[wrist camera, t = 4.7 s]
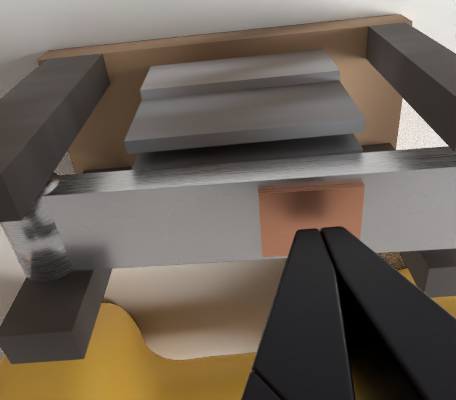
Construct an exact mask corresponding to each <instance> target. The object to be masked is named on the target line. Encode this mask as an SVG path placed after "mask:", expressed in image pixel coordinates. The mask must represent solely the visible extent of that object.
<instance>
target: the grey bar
mask: <svg viewBox="0 0 456 400" xmlns="http://www.w3.org/2000/svg"><path fill="white" fill-rule="evenodd" d="M0 224H1V226H2V228H3V230H4V232H5V234H6V236H7V238H8V240H9V243H10V245H11V247H12V249H13V251H14V253H15V255H16V257H17V259H18V261H19V263H20V265H21V267H22V269H23V271H24V273H25V275H26V276H27V277H28V278H29V279H31V280H34V281H40V282H44V281H51V280H55V279H58V278H61V277H64V276H66V275H68V274H69V273H71V272H73V271H75V270H92V269H109V268H126V267H144V266H161V265H178V264H195V263H213V262H230V261H247V260H264V259H282V258H287V257H288V254H289V251H290V248H291V245H292V242H293V239H294V235H295V233H296V231H297V230H299V229H311V228H317V229H318V230H319V231H320V229H321V228H324V227H335V226H342V227H344V228H346V229H347V230H348V231H349V232H350V233H352V234H353V235H354V236H355V237H357V238H358V239H359V240H360V241H362V242H363V243H364V244H365V245H366V246H368V247H369V248H370V249H371V250H373V251H374V252H375V253H385V252H402V251H420V250H437V249H454V248H456V152H454V151H453V150H452V149H451V148H450V147H449V146H448V147H435V148H422V149H408V150H395V151H381V152H368V153H354V154H341V155H328V156H314V157H301V158H287V159H274V160H260V161H247V162H234V163H220V164H207V165H193V166H180V167H166V168H153V169H140V170H126V171H113V172H99V173H86V174H72V175H59V176H58V175H57V174H56V173H54V172H53V173H52V175H51V176H50V178H49V179H48V181H47V183H46V184H45V186H44V187H43V189H42V190H41V192H40V193H39V195H38V196H37V198H36V199H35V201H34V203H33V204H32V206H31V207H30V209H29V210H28V212H27V213H26V215H25V216H24V218H23V220H22V221H10V222H0Z"/></svg>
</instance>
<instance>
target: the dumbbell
mask: <svg viewBox="0 0 456 400" xmlns="http://www.w3.org/2000/svg"><path fill="white" fill-rule="evenodd" d="M398 272H400V273H401V274H402V275H403V276H405V277H406V278H407V279H408V280H410V281H411V282H412V283H413V284H414V285H416V284H415V282H414V280H413V278H412V276H411V274H410V272H409V270H408V268H405V269H401V270H398ZM432 299H433V300H434V301H435V302H437V303H438V304H439V305H440V306H442V307H443V308H444V309H445V310H446V311H448V312H449V313H450V314H451V315H453V316H454V317H455V318H456V296H448V297H435V298H432ZM256 353H257V352H254V353H244V354H234V355H221V356H210V357H203V358H196V359H187V360H172V359H167V358H163V357H161V356H159V355H157V354H155V353H154V352H153V351H151V350H150V349H149V347H148V346H147V345H146V343H145V340H144V338H143V336H142V334H141V332H140V330H139V328H138V326H137V325H136V323H135V322H134V320H133V319H132V317H131V316H130V315H129V314H128V313H127V312H126V311H125V310H124V309H123V308H121V307H120V306H117V305H115V304H111V303H101V306H100V309H99V313H98V316H97V319H96V322H95V326H94V329H93V332H92V335H91V338H90V342H89V345H88V348H87V351H86V355H85V358H84V359H80V360H66V361H51V362H37V363H22V364H11V363H10V361H9V360H8V358H7V356H6V355H5V353H4V355H3V357H2V359H1V361H0V400H241V398H242V395H243V392H244V389H245V386H246V383H247V380H248V377H249V374H250V372H252V371H251V368H252V365H253V362H254V359H255V356H256Z"/></svg>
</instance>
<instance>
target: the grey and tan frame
mask: <svg viewBox="0 0 456 400" xmlns="http://www.w3.org/2000/svg"><path fill="white" fill-rule="evenodd" d="M38 63H39V67H38V68H37V69H35V70H34V71H33V72H32V73H31V74H29V75H28V76H27V77H26V78H25V79H24V80H22V81H21V82H20V83H19V84H18V85H17V86H15V87H14V88H13V89H12V90H11V91H9V92H8V93H7V94H6V95H5V96H4V97H2V98H1V99H0V222H10V221H22V220H23V218H24V216H25V215H26V213H27V212H28V210H29V209H30V207H31V206H32V204H33V203H34V201H35V199H36V198H37V196H38V195H39V193H40V192H41V190H42V189H43V187H44V186H45V184H46V183H47V181H48V179H49V178H50V176H51V175H52V173H53V172H54V170H55V169H56V167H57V166H58V164H59V162H60V161H61V159H62V158H63V156H64V155H65V153H66V152H67V150H68V152H69V155H70V158H71V161H72V164H73V167H74V170H75V172H76V174H86V173H99V172H113V171H126V170H140V169H153V168H166V167H180V166H193V165H207V164H220V163H234V162H247V161H260V160H274V159H287V158H301V157H314V156H328V155H341V154H354V153H368V152H381V151H395V150H396V143H397V136H398V128H399V120H400V113H401V105H402V97H403V98H404V99H405V100H406V101H407V103H408V104H409V105H410V106H411V107H412V108H413V109H414V110H415V111H416V112H417V113H418V114H419V115H420V116H421V117H422V118H423V119H424V120H425V121H426V123H427V124H428V125H429V126H430V127H431V128H432V129H433V130H434V131H435V132H436V133H437V134H438V135H439V136H440V137H441V138H442V139H443V140H444V141H445V143H446V144H447V145H448V146H449V147H450V148H451V149H452V150H453V151H454V152H456V54H455V53H454V52H452V51H450V50H449V49H447V48H446V47H444V46H442V45H441V44H439V43H438V42H436V41H434V40H433V39H431V38H430V37H428V36H426V35H425V34H423V33H422V32H420V31H418V30H417V29H415V28H413V27H412V21H411V20H409V19H407V18H406V17H404V16H402V15H401V14H397V15H388V16H378V17H368V18H359V19H349V20H340V21H330V22H320V23H311V24H301V25H291V26H282V27H272V28H262V29H253V30H243V31H233V32H224V33H214V34H204V35H195V36H185V37H175V38H166V39H156V40H146V41H137V42H127V43H117V44H108V45H98V46H88V47H79V48H69V49H59V50H50V51H48V52H47V53H46V54H44V55H43V56H42V57H41V58H39V59H38ZM400 254H401V256H402V258H403V260H404V262H405V264H406V266H407V268H408V270H409V272H410V274H411V276H412V278H413V280H414V282H415V284H416V286H417V287H418V288H419V289H421V290H422V291H423V292H424V293H426V294H427V295H428V296H429V297H430V298H435V297H448V296H456V248H454V249H437V250H420V251H402V252H400ZM111 271H112V268H109V269H92V270H75V271H73V272H71V273H69V274H68V275H66V276H64V277H61V278H58V279H55V280H51V281H44V282H40V281H34V280H31V279H29V278H28V277H27V278H26V280H25V282H24V283H23V285H22V287H21V289H20V291H19V293H18V295H17V296H16V298H15V300H14V302H13V304H12V306H11V308H10V310H9V311H8V313H7V315H6V317H5V319H4V321H3V323H2V324H1V326H0V346H1V348H2V350H3V351H4V353H5V355H6V356H7V358H8V360H9V361H10V363H11V364H22V363H37V362H51V361H66V360H80V359H84V358H85V355H86V351H87V348H88V345H89V342H90V338H91V335H92V332H93V329H94V326H95V322H96V319H97V316H98V313H99V309H100V306H101V303H102V300H103V297H104V293H105V290H106V287H107V284H108V280H109V277H110V274H111Z"/></svg>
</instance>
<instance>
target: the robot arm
mask: <svg viewBox="0 0 456 400" xmlns="http://www.w3.org/2000/svg"><path fill="white" fill-rule="evenodd" d="M251 371H252V372H250V374H249V377H248V380H247V383H246V386H245V389H244V392H243V395H242V398H241V400H456V318H455V317H454V316H453V315H451V314H450V313H449V312H448V311H446V310H445V309H444V308H443V307H442V306H440V305H439V304H438V303H437V302H435V301H434V300H433V299H432V298H430V297H429V296H428V295H427V294H426V293H424V292H423V291H422V290H421V289H419V288H418V287H417V286H416V285H414V284H413V283H412V282H411V281H410V280H408V279H407V278H406V277H405V276H403V275H402V274H401V273H400V272H398V271H397V270H396V269H395V268H394V267H392V266H391V265H390V264H389V263H387V262H386V261H385V260H384V259H382V258H381V257H380V256H379V255H378V254H376V253H375V252H374V251H373V250H371V249H370V248H369V247H368V246H366V245H365V244H364V243H363V242H362V241H360V240H359V239H358V238H357V237H355V236H354V235H353V234H352V233H350V232H349V231H348V230H347V229H346V228H344V227H342V226H335V227H324V228H321V229H320V231H319V230H318V229H317V228H311V229H299V230H297V231H296V233H295V235H294V239H293V242H292V245H291V248H290V251H289V254H288V257H287V260H286V263H285V266H284V269H283V273H282V276H281V279H280V282H279V285H278V288H277V291H276V294H275V297H274V300H273V303H272V306H271V310H270V313H269V316H268V319H267V322H266V325H265V328H264V331H263V334H262V337H261V340H260V344H259V347H258V350H257V353H256V356H255V359H254V362H253V365H252V368H251Z"/></svg>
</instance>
